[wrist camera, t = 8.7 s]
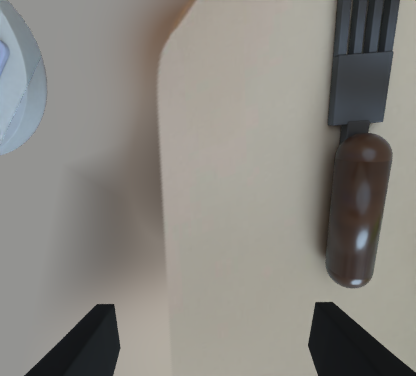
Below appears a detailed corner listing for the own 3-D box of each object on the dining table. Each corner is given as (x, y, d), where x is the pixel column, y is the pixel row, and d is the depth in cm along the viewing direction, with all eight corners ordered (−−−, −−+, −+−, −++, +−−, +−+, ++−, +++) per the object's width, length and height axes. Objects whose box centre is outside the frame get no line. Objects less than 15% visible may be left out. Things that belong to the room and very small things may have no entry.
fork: (355, 268, 19) (381, 296, 16) (315, 271, 19) (335, 299, 16) (399, -49, 13) (455, -96, 10) (341, -45, 13) (379, -90, 10)
